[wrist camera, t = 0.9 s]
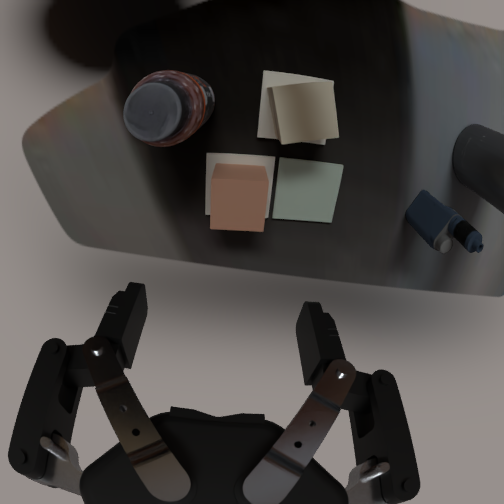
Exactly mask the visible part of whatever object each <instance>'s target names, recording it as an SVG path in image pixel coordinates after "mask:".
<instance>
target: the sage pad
mask: <svg viewBox="0 0 504 504" xmlns="http://www.w3.org/2000/svg"><path fill="white" fill-rule="evenodd" d="M342 171H343V165H340V164H333V163H326V162H318V161H310V160H302V159H293V158H283V157H280V158H279V166H278V175H277V183H276V191H275V199H274V207H273V214H272V218H276V219H291V220H305V221H318V222H330V223H331V222H332V217H333V213H334V209H335V204H336V200H337V195H338V190H339V186H340V181H341V176H342Z"/></svg>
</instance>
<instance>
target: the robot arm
mask: <svg viewBox="0 0 504 504" xmlns="http://www.w3.org/2000/svg"><path fill="white" fill-rule="evenodd" d="M453 164H454V170H455V173H456V176H457V178H458V179H459V181H460V182H461V183H462V184H464V185H465V186H467V187H468V188H470V189H471V190H472V191H474V192H475V193H477V194H478V195H479V196H481V197H482V198H483V199H485V200H486V201H487V202H489V203H490V204H491V205H493V206H494V207H495V208H497V209H498V210H499V211H501V212H502V213H503V214H504V134H501V133H499V132H497V131H494V130H492V129H489V128H487V127H484V126H481V125H478V124H473V125H470V126H468V127H466V128H465V129H464V130H463V131H462V132H461V134H460V135H459V137H458V139H457V141H456V145H455V148H454V154H453ZM147 309H148V306H147V298H146V290H145V285H144V284H141V283H134V282H130V283H129V284H128V286H127V288H126V290H125V291H118V292H117V293H116V294H115V295H114V296H113V297H112V299H111V301H110V303H109V306H108V307H107V310H106V313H105V314H104V316H103V318H102V321H101V323H100V325H99V327H98V330H97V332H96V334H95V336H94V337H91V338H89V339H88V340H86V341H85V343H84V344H82V345H69V346H66V344H65V342H64V341H63V340H61V339H58V338H52V339H49V340H48V341H46V342H45V343H44V344H43V346H42V348H41V351H40V353H39V355H38V358H37V360H36V363H35V365H34V368H33V370H32V373H31V376H30V379H29V381H28V384H27V387H26V390H25V393H24V396H23V399H22V402H21V405H20V408H19V412H18V415H17V419H16V422H15V426H14V430H13V434H12V438H11V442H10V447H9V451H8V458H9V462H10V464H11V466H12V467H13V469H14V470H15V471H17V472H18V473H20V474H22V475H25V476H26V477H27V478H29V479H31V480H33V481H36V482H38V483H40V484H43V485H47V486H49V487H52V488H61V489H64V490H66V491H69V492H72V493H75V494H78V495H81V496H82V499H83V501H84V504H398V503H401V502H405V501H408V500H411V499H412V498H414V497H415V496H416V495H417V493H418V491H419V489H420V478H419V473H418V468H417V463H416V458H415V453H414V448H413V444H412V439H411V435H410V431H409V427H408V423H407V419H406V415H405V411H404V408H403V404H402V400H401V397H400V393H399V390H398V386H397V383H396V380H395V378H394V376H393V375H392V374H391V373H390V372H388V371H386V370H377V371H375V372H374V373H373V374H372V375H371V374H367V373H363V372H359V371H356V369H355V367H354V366H353V365H352V364H351V363H350V362H348V361H346V358H345V354H344V351H343V348H342V344H341V341H340V338H339V336H338V335H339V334H338V331H337V328H336V325H335V321H334V319H333V318H332V317H331V316H330V314H329V313H323V310H322V307H321V304H320V303H319V302H307V301H306V302H305V303H304V304H303V307H302V310H301V312H300V315H299V318H298V320H297V323H296V336H297V342H298V348H299V353H300V359H301V365H302V371H303V377H304V383H305V385H312V388H313V391H312V392H311V394H310V395H309V397H308V398H307V400H306V401H305V403H304V404H303V405H302V407H301V408H300V410H299V411H298V413H297V414H296V415H295V417H294V418H293V420H292V421H291V422H290V424H289V425H288V426H287V428H286V429H283V428H282V427H281V426H279V425H277V424H275V423H273V422H270V421H268V420H265V416H264V414H244V413H243V414H242V413H241V414H235V415H229V416H223V417H215V416H211V415H208V414H206V413H203V412H200V411H197V410H194V409H185V408H178V407H172V406H171V409H170V412H165V413H160V414H157V415H154V416H152V417H150V418H149V417H148V415H147V414H146V412H145V410H144V408H143V407H142V405H141V403H140V401H139V399H138V398H137V396H136V394H135V392H134V390H133V388H132V386H131V384H130V383H129V381H128V379H127V377H126V376H125V374H124V372H123V370H124V368H129V369H131V367H132V363H133V360H134V356H135V353H136V349H137V346H138V343H139V339H140V336H141V333H142V329H143V326H144V323H145V320H146V317H147ZM91 386H95V387H96V388H95V389H96V392H97V395H98V397H99V399H100V402H101V404H102V406H103V408H104V411H105V413H106V415H107V417H108V419H109V421H110V423H111V425H112V427H113V429H114V431H115V433H116V435H117V437H118V439H119V441H120V442H119V443H118V444H116V445H115V446H114V447H112V448H111V449H110V450H109V451H107V452H106V453H105V454H103V455H102V456H101V457H99V458H98V459H97V460H95V461H94V462H93V463H92V464H90V465H89V466H88V467H87V468H86V469H85V470H84V471H82V470H81V468H80V466H79V462H78V453H77V451H76V449H75V448H74V447H73V446H72V445H71V444H70V443H71V437H72V432H73V427H74V422H75V418H76V414H77V409H78V405H79V401H80V397H81V393H82V389H83V387H91ZM341 409H344V410H348V411H349V417H350V423H351V429H352V436H353V443H354V450H355V458H356V467H355V468H354V469H352V471H351V472H350V474H349V482H348V485H347V487H346V488H344V487H343V486H342V485H341V484H340V483H339V482H338V481H337V480H336V479H335V478H334V477H333V476H332V475H331V474H330V473H328V472H327V471H326V470H325V469H324V468H323V467H322V466H321V465H320V464H319V463H318V462H317V461H316V460H315V459H314V458H313V456H314V454H315V452H316V451H317V449H318V448H319V446H320V444H321V443H322V441H323V440H324V438H325V437H326V435H327V433H328V431H329V430H330V428H331V426H332V425H333V423H334V421H335V420H336V418H337V416H338V414H339V412H340V410H341Z"/></svg>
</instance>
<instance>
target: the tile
mask: <svg viewBox="0 0 504 504" xmlns="http://www.w3.org/2000/svg"><path fill="white" fill-rule="evenodd" d="M310 82H332V84H333V85H334V81H330V80H325V79H320V78H315V77H309V76H303V75H296V74H289V73H282V72H273V71H263V81H262V92H261V102H260V113H259V124H258V134H257V137H260V138H271V139H278V138H277V137H276V135H275V131H274V125H273V119H272V113H271V108H270V102H269V97H268V91H267V87H273V86H281V85H289V84H299V83H310ZM325 141H326V139H321V140H312V141H304V142H307V143H315V144H322V145H325Z"/></svg>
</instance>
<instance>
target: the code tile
mask: <svg viewBox="0 0 504 504" xmlns="http://www.w3.org/2000/svg"><path fill="white" fill-rule="evenodd" d="M216 163H222V164H242V165H257V166H265V169H266V173H267V176H268V180H269V187H268V196H267V204H266V213H265V218H268V215H269V207H270V198H271V190H272V182H273V173H274V164H275V157H272V156H260V155H246V154H228V153H207V157H206V208H205V215H210V210H211V178H212V174H213V171H214V168H215V165H216Z"/></svg>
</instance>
